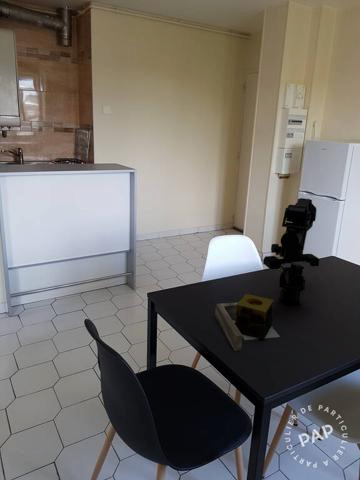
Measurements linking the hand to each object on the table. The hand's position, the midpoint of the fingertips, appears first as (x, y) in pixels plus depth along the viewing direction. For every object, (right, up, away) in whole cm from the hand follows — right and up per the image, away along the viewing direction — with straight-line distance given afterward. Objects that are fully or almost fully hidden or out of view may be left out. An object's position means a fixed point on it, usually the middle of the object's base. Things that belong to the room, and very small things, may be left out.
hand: (288, 283), depth 131 cm
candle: (-14, -14, -8) cm, 22 cm away
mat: (-13, -14, -7) cm, 21 cm away
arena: (-14, -14, -8) cm, 22 cm away
